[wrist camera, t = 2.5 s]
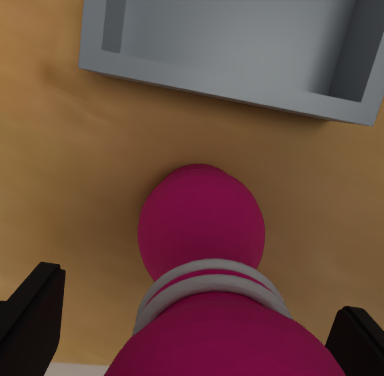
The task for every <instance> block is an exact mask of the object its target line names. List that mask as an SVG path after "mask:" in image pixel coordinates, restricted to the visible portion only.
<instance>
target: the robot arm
mask: <svg viewBox="0 0 384 376" xmlns="http://www.w3.org/2000/svg"><path fill="white" fill-rule="evenodd" d="M65 273H66V272H65V270H62V269H60V265H59V264H53V263H46V262H40V263H39V264H38V265H37V267H36V268H35V269H34V270H33V271H32V272H31V273H30V275H29V276H28V277H27V278H26V279H25V280H24V282H23V283H22V284H21V285H20V286H19V287H18V288H17V290H16V291H15V292H14V293H13V294H12V295H11V297H10V298H9V299H8V300H7V301H0V376H44V374H45V372H46V370H47V368H48V366H49V364H50V362H51V360H52V358H53V356H54V354H55V352H56V350H57V347H58V344H59V339H60V329H61V318H62V307H63V296H64V285H65ZM325 347H326V348H327V349H328V350H329V351H330V353H331V354H332V356H333V357H334V358H335V360H336V361H337V363H338V364H339V366H340V367H341V369H342V370H343V372H344V374H345V375H346V376H384V331H383V330H382V329H381V328H380V327H379V325H378V324H377V323H376V322H375V321H374V320H373V319H372V318H371V316H370V315H369V314H368V313H367V312H366V311H365V310H364V309H362V308H357V307H350V306H344V307H343V308H342V310H339V311H338V312H337V314H336V317H335V320H334V322H333V325H332V328H331V331H330V333H329V336H328V339H327V342H326V344H325Z"/></svg>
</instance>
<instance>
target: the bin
mask: <svg viewBox="0 0 384 376" xmlns="http://www.w3.org/2000/svg"><path fill="white" fill-rule="evenodd" d="M78 68H80V69H84V70H87V71H90V72H93V73H96V74H99V75H102V76H106V77H111V78H116V79H121V80H126V81H131V82H136V83H141V84H146V85H151V86H156V87H161V88H166V89H172V90H177V91H182V92H187V93H192V94H197V95H202V96H207V97H212V98H217V99H222V100H227V101H232V102H237V103H242V104H247V105H252V106H257V107H262V108H267V109H272V110H277V111H282V112H288V113H293V114H298V115H303V116H308V117H313V118H318V119H323V120H328V121H335V122H343V123H350V124H358V125H366V126H373V125H374V122H375V119H376V116H377V113H378V110H379V107H380V104H381V101H382V98H383V95H384V0H84V6H83V18H82V30H81V42H80V53H79V65H78Z"/></svg>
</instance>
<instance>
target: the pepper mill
mask: <svg viewBox="0 0 384 376" xmlns="http://www.w3.org/2000/svg"><path fill="white" fill-rule="evenodd" d="M264 242H265V226H264V220H263V216H262V213H261V211H260V208H259V206H258V204H257V202H256V200H255V198H254V197H253V195H252V194H251V192H250V191H249V190H248V189H247V188H246V187H245V186H244V185H243V184H242V183H241V182H240V181H238V180H237V179H236V178H234V177H232V176H230V175H228V174H226V173H225V172H224V171H222V170H220V169H219V168H216V167H214V166H211V165H206V164H192V165H186V166H183V167H181V168H178V169H176V170H174V171H173V172H172V173H170V174H169V175H168V176H167V177H166V178H165V179H164V180H163V181H162V182H161V183H160V184H159V185H158V186H157V187H155V188H154V190H153V191H152V192H151V193H150V195H149V196H148V197H147V199H146V201H145V203H144V205H143V207H142V210H141V213H140V218H139V224H138V244H139V250H140V253H141V256H142V259H143V262H144V265H145V267H146V269H147V271H148V272H149V274H150V276H151V277H152V279H153V280H154V284H153V285H152V286H151V287H150V288H149V289H148V291H147V293H146V294H145V296H144V297H143V299H142V301H141V304H140V306H139V308H138V312H137V316H136V324H135V326H134V330H133V334H132V337H131V338H130V339H129V340H128V341H127V343H126V344H125V345H124V347H123V348H122V349H121V350H120V352H119V353H118V354H117V356H116V357H115V359H114V361H113V362H112V364H111V365H110V367H109V368H108V370H107V372H106V373H105V375H104V376H346V375H345V374H344V372H343V370H342V369H341V367H340V366H339V364H338V363H337V361H336V360H335V358H334V357H333V356H332V354H331V353H330V351H329V350H328V349H327V348H326V347H325V346H324V345H323V344H322V343H321V342H320V341H319V340H318V339H317V338H316V337H315V336H314V335H313V334H312V333H310V332H309V331H308V330H306V329H305V328H304V327H303V326H301V325H300V324H299V323H298V322H296V321H294V320H293V319H292V316H291V314H290V312H289V311H288V309H287V308H286V306H285V302H284V300H283V298H282V296H281V294H280V293H279V291H278V290H277V289H276V287H275V286H274V284H273V283H272V282H271V281H270V280H269V279H268V278H267V277H266V276H264V275H263V274H262V273H260V272H259V271H257V270H256V269H257V267H258V265H259V263H260V260H261V257H262V254H263V248H264Z"/></svg>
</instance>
